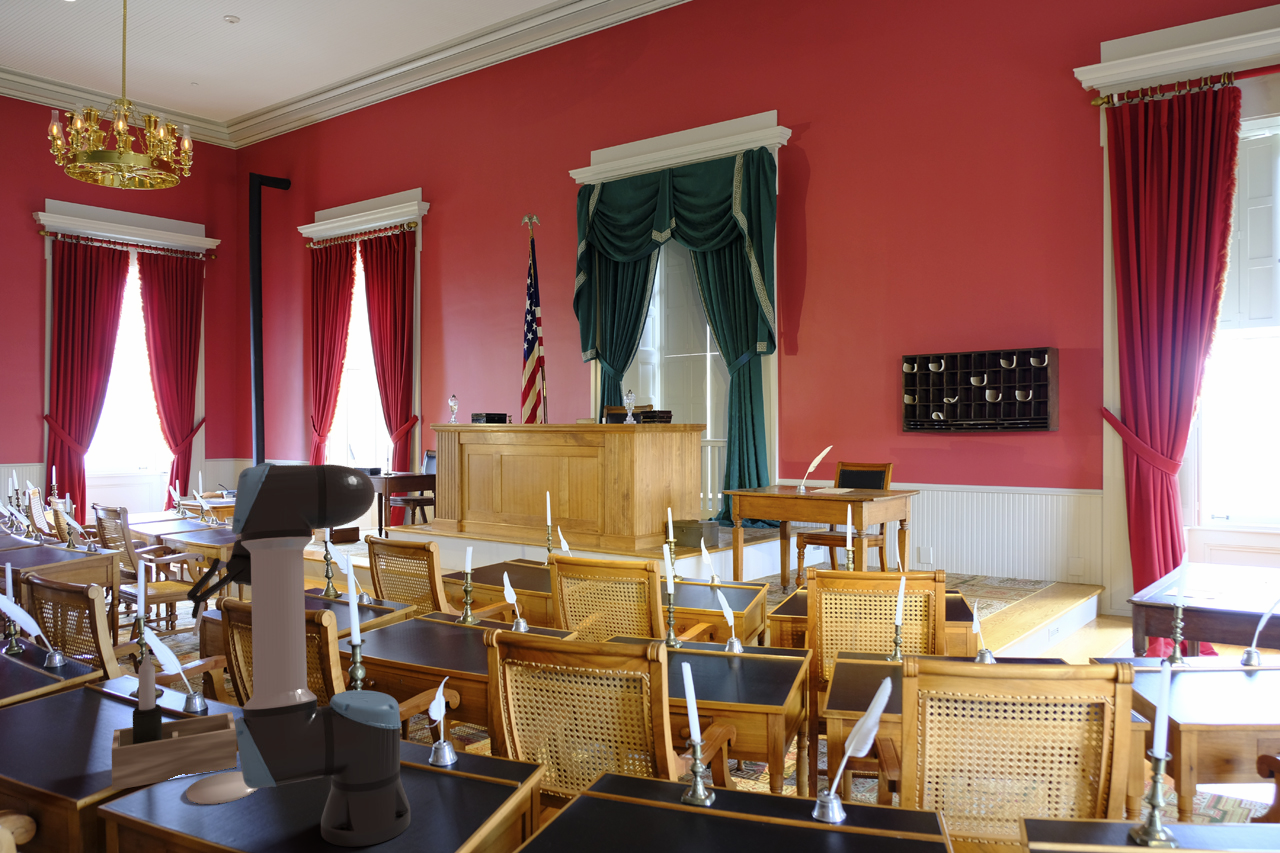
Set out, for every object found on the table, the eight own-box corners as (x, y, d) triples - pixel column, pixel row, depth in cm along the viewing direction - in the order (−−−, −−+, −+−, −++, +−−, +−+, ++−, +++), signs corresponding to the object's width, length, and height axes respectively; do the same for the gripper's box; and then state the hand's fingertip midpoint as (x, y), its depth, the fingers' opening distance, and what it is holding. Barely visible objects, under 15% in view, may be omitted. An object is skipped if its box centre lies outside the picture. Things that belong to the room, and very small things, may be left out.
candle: (162, 775, 175) (161, 652, 175) (133, 780, 173) (131, 655, 172) (161, 766, 180) (160, 646, 179) (133, 771, 177) (132, 649, 177)
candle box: (236, 767, 179) (236, 729, 178) (112, 790, 168) (111, 749, 168) (232, 748, 189) (232, 711, 189) (114, 768, 178) (114, 729, 178)
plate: (263, 795, 166) (263, 790, 166) (187, 810, 160) (187, 806, 160) (256, 770, 177) (256, 766, 177) (185, 783, 171) (185, 779, 171)
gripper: (310, 556, 200) (291, 648, 190) (191, 540, 191) (165, 635, 181) (313, 546, 194) (294, 640, 184) (191, 528, 185) (164, 626, 175)
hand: (230, 638), depth 182 cm, fingers open, 13 cm apart
